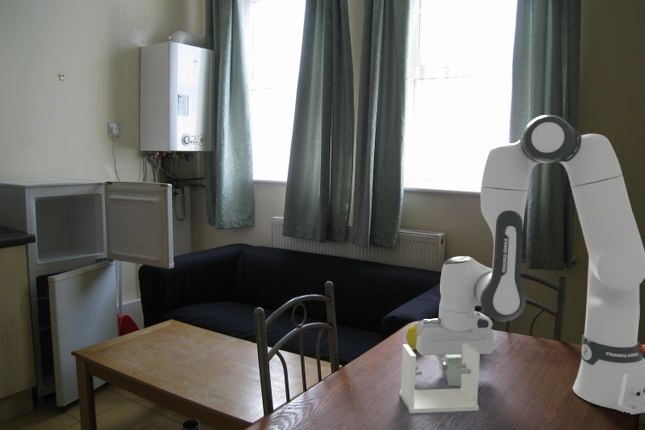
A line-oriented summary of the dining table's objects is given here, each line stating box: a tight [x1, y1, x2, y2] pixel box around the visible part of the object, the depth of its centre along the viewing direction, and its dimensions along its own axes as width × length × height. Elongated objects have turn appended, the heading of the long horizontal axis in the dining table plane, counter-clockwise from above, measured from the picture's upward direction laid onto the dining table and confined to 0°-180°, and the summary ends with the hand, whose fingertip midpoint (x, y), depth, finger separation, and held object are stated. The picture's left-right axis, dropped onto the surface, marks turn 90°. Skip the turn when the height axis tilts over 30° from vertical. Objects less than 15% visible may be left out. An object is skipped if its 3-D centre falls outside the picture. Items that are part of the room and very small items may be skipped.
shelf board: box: [442, 354, 462, 387], centre depth 134 cm, size 12×4×5 cm, turn 174°
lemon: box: [406, 323, 418, 351], centre depth 151 cm, size 6×6×8 cm
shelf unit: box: [399, 343, 481, 414], centre depth 119 cm, size 16×9×13 cm, turn 96°
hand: (453, 369), depth 135 cm, fingers closed on shelf board, 4 cm apart
